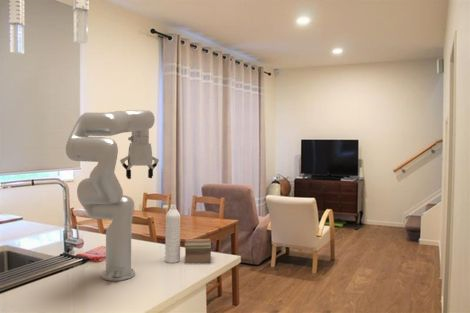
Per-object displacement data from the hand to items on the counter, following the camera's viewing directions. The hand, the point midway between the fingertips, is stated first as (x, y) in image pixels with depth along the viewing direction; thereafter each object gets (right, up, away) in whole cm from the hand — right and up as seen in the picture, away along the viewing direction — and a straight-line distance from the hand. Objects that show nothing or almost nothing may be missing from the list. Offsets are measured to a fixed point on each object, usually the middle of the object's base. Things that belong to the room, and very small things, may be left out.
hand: (139, 178), depth 171 cm
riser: (+26, -37, +1) cm, 45 cm away
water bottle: (+14, -37, -2) cm, 39 cm away
